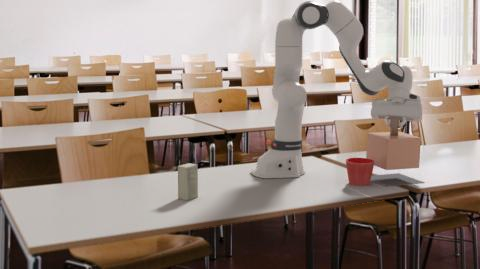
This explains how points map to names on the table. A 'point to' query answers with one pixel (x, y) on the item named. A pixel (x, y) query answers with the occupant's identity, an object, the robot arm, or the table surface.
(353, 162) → the flower pot
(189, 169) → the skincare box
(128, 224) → the table surface
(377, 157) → the box with top peg
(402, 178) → the mat
